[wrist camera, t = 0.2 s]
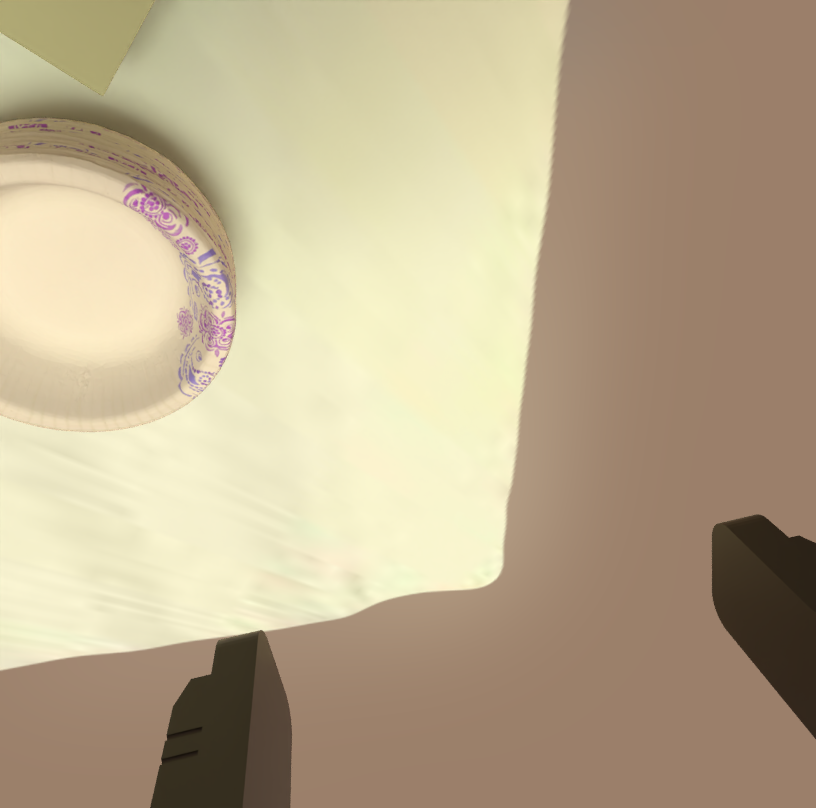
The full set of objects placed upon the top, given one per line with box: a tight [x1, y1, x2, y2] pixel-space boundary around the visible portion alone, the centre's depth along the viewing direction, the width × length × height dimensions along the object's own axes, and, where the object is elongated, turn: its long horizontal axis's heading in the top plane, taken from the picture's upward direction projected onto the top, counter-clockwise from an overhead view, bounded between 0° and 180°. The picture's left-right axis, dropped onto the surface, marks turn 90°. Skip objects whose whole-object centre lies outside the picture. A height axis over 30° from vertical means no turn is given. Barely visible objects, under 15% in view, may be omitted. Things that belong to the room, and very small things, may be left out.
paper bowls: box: [0, 117, 236, 432], centre depth 35 cm, size 15×15×8 cm
